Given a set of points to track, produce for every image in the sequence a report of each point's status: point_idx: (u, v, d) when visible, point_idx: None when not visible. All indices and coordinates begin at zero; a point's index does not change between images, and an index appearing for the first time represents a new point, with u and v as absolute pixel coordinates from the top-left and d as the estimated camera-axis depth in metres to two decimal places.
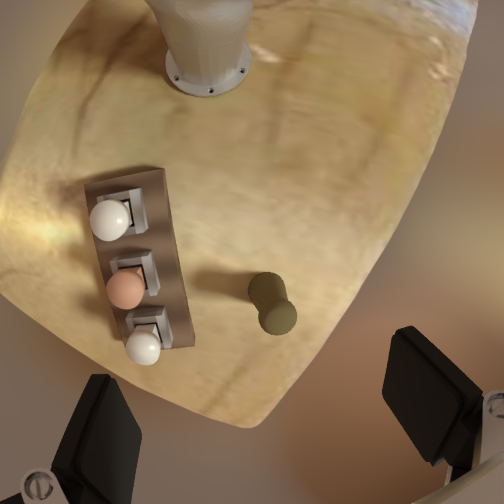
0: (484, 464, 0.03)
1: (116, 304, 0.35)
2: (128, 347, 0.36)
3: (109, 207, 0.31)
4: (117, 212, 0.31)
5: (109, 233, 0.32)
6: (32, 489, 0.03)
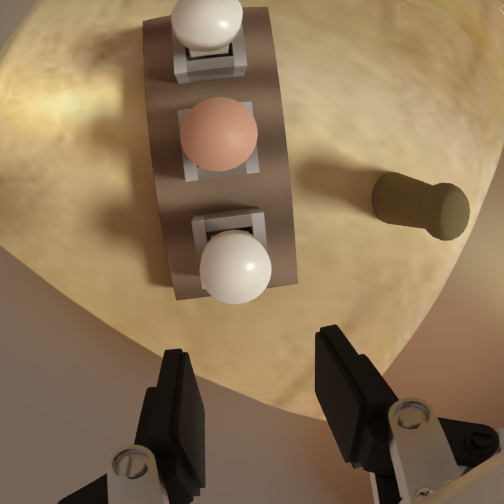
0: (484, 464, 0.03)
1: (197, 161, 0.17)
2: (207, 263, 0.19)
3: None
4: (228, 2, 0.14)
5: (207, 29, 0.15)
6: (121, 463, 0.05)
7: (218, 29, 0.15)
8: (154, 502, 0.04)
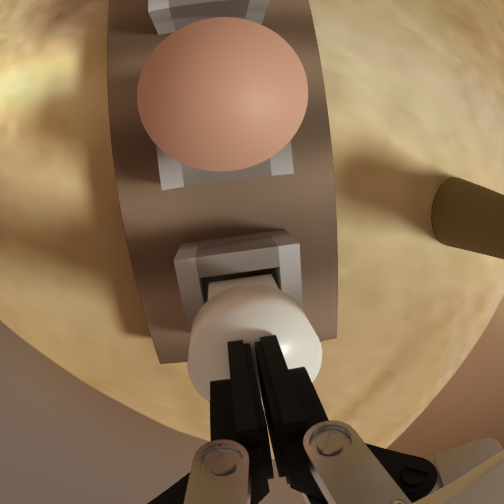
0: (484, 464, 0.03)
1: (174, 148, 0.07)
2: (201, 356, 0.09)
3: None
4: None
5: None
6: (208, 457, 0.05)
7: None
8: None
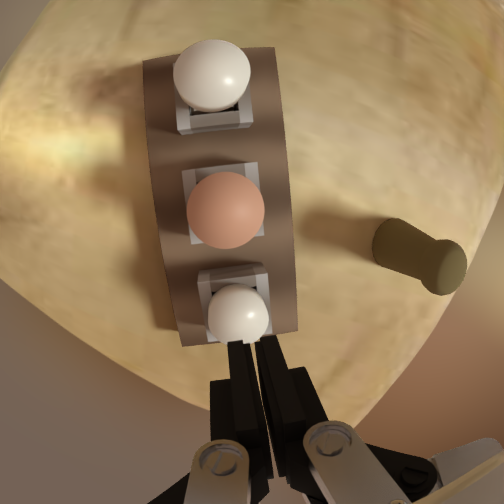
0: (484, 464, 0.03)
1: (204, 238, 0.18)
2: (214, 314, 0.23)
3: (219, 49, 0.15)
4: (235, 58, 0.16)
5: (213, 91, 0.16)
6: (208, 457, 0.05)
7: (224, 91, 0.16)
8: None
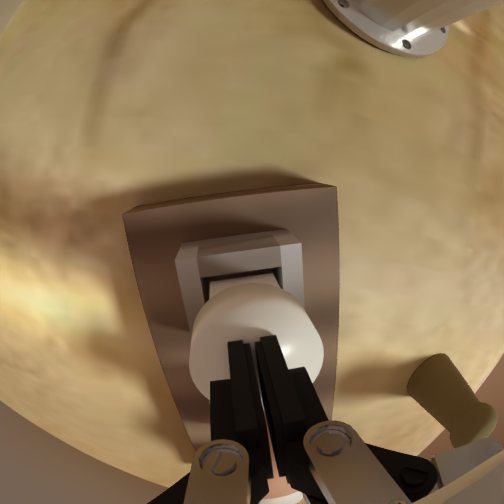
0: (484, 464, 0.03)
1: None
2: None
3: (272, 328, 0.09)
4: (299, 341, 0.10)
5: None
6: (208, 457, 0.05)
7: None
8: None
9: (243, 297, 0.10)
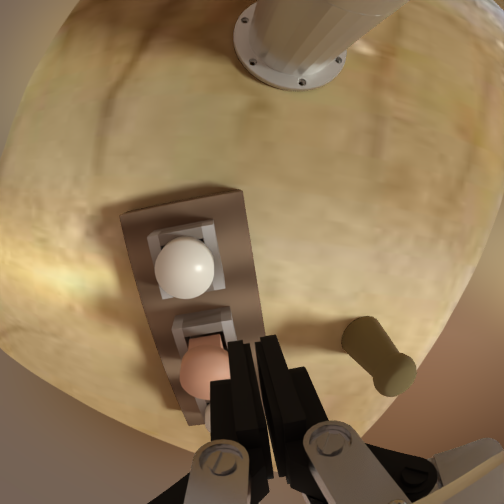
0: (484, 464, 0.03)
1: (195, 395, 0.23)
2: (209, 422, 0.28)
3: (187, 251, 0.23)
4: (200, 258, 0.23)
5: (187, 288, 0.24)
6: (208, 457, 0.05)
7: (196, 287, 0.24)
8: None
9: (177, 240, 0.23)
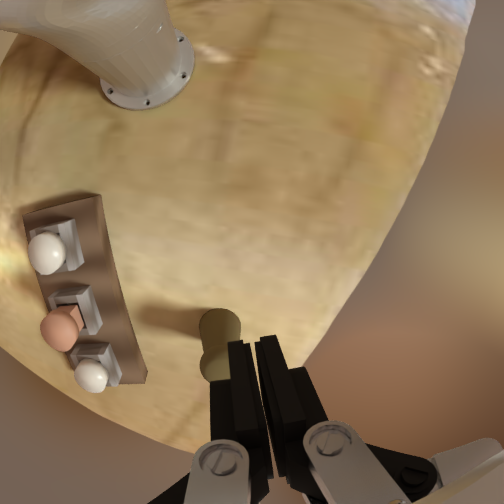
0: (484, 464, 0.03)
1: (52, 345, 0.28)
2: (76, 375, 0.33)
3: (43, 241, 0.27)
4: (50, 246, 0.28)
5: (45, 267, 0.28)
6: (209, 457, 0.05)
7: (50, 267, 0.28)
8: None
9: None
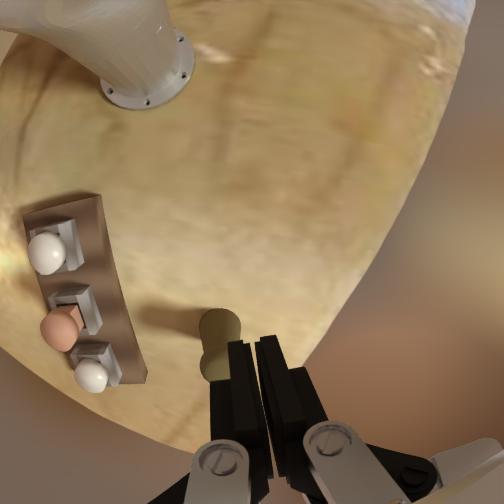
0: (484, 464, 0.03)
1: (52, 345, 0.28)
2: (76, 375, 0.33)
3: (43, 241, 0.27)
4: (50, 246, 0.28)
5: (45, 267, 0.28)
6: (208, 457, 0.05)
7: (50, 267, 0.28)
8: None
9: None
